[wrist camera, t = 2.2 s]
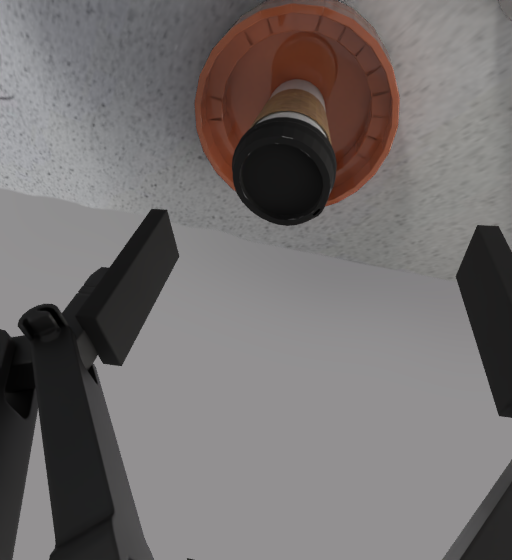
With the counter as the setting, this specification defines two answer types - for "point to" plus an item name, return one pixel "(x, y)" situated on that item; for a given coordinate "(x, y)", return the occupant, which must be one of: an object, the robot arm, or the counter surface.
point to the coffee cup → (287, 157)
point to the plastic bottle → (506, 8)
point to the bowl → (306, 66)
